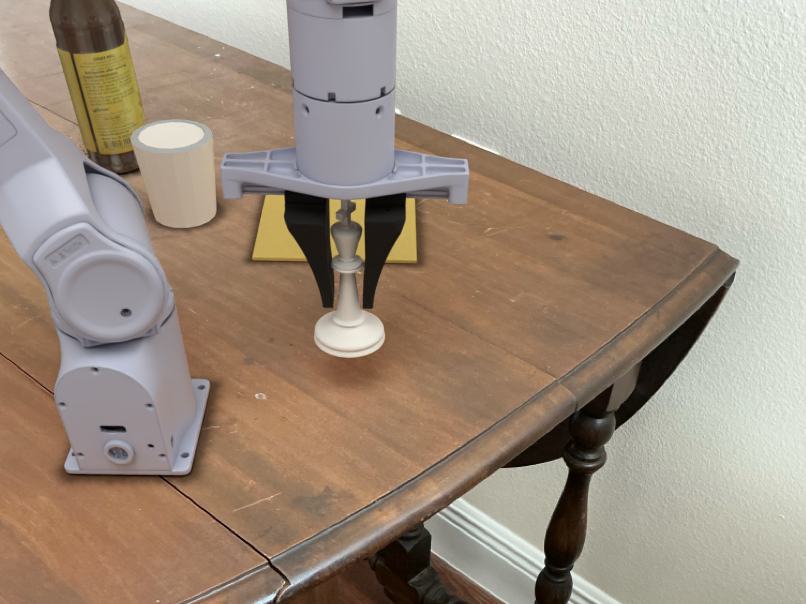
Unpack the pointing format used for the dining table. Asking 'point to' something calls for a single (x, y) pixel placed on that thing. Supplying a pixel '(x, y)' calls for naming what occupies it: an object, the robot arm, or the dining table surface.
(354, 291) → the chess piece
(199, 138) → the cream cylinder
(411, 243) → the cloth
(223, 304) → the dining table surface
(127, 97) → the sauce bottle
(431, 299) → the dining table surface
